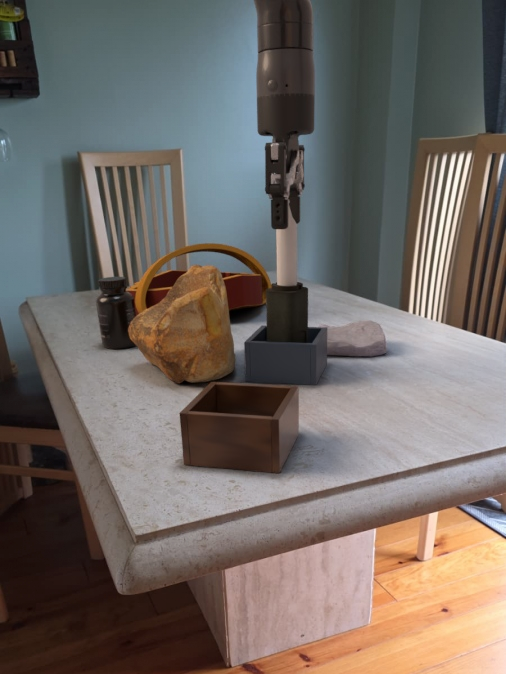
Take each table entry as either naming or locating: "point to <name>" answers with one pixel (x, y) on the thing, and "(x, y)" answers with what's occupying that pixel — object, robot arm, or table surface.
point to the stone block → (356, 339)
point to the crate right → (286, 358)
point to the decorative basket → (239, 286)
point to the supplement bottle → (115, 312)
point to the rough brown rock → (189, 329)
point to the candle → (287, 292)
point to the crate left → (240, 426)
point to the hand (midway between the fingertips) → (286, 226)
